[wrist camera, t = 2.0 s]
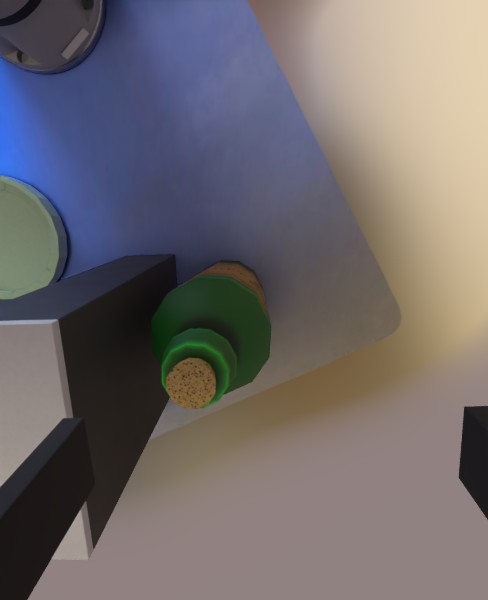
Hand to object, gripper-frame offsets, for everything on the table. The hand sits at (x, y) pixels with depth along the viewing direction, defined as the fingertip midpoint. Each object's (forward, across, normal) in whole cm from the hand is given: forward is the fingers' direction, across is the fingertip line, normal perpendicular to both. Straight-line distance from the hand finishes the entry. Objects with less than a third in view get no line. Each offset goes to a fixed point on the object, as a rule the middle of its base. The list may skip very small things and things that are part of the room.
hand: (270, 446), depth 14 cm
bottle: (+39, -5, -3) cm, 40 cm away
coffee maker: (+39, -18, -6) cm, 44 cm away
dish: (+39, -34, +5) cm, 52 cm away
